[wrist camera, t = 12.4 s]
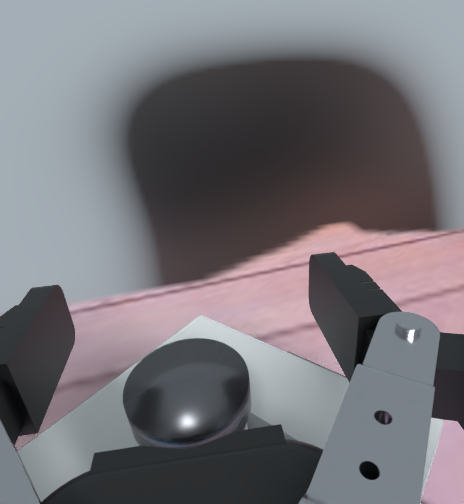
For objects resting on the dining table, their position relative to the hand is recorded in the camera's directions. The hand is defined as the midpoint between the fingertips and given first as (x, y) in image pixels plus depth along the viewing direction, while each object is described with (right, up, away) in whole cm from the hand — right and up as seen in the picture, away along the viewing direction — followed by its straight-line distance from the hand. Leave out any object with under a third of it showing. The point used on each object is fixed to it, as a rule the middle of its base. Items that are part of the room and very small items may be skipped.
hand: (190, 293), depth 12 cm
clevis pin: (+1, -13, +4) cm, 14 cm away
